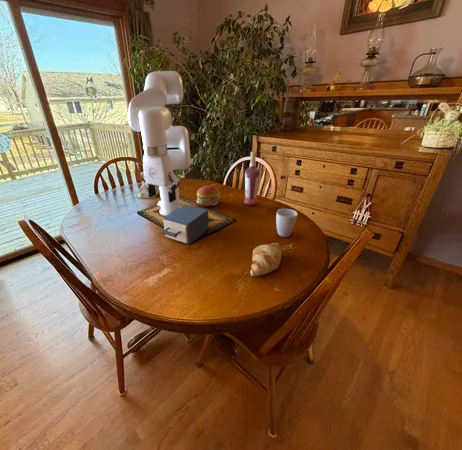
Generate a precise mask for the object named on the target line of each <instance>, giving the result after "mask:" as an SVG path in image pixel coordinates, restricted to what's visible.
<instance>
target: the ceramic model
mask: <svg viewBox="0 0 462 450" xmlns="http://www.w3.org/2000/svg"><path fill="white" fill-rule="evenodd" d="M155 190H156V195H154V196H152V197H149V194H148V188H147V186H146V183H145V182H144V181H143V183H142V185H141V186H140V188H139V189H138V192H139V194H138V195H137V198H139V199H152V198H155V197H156V196H157V195H158V194H160V189H159V187H157V185H155Z"/></svg>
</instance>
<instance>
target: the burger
mask: <svg viewBox="0 0 462 450" xmlns="http://www.w3.org/2000/svg"><path fill="white" fill-rule="evenodd" d="M220 201H221V192H220V190H219V188H218V187H217V186H214V185H204V186H202V187H200V188H198V190H197V191H196V204H198V205H199V206H201V207H205V208H209V207H210V208H211V207H215V206H217V205H219V203H220Z"/></svg>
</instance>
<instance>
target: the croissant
mask: <svg viewBox="0 0 462 450" xmlns="http://www.w3.org/2000/svg"><path fill="white" fill-rule="evenodd" d="M282 258H283V247H282V245H281V242H279V241H276V242H272V243H269V244H260V245H258V246H256V247H255V248H254V249H253V250H252V257H251V260H252V262H251V265H250V266H251V269H250V276H251V277H259V276H264V275H266V274H269V273H271V272H273V271H276V270H278V268H279V266H280V264H281V260H282Z"/></svg>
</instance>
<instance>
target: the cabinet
mask: <svg viewBox="0 0 462 450" xmlns="http://www.w3.org/2000/svg"><path fill="white" fill-rule="evenodd" d="M180 206H181V207H180V208H178V209H176V210H175V211H173V212H171V213H170V214H168V215H166V216H163V220H165V219H166V220H171V221H175V222H178V223H182V224H186V225H187V231H188V243H187V244H188V245H191V244H192V243H194V242H195V241H196V240H197V239H198V238H200V237H201V236H202V235H204V234H205V233H206V232H207V231H208V230H209V229H210V228H209V227H210V226H209V210H208V209H207V208H203V207H198V206H193V205H189V204H183V205H180Z"/></svg>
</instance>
